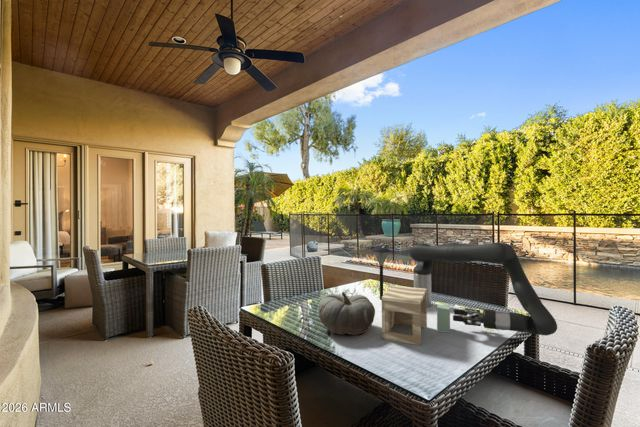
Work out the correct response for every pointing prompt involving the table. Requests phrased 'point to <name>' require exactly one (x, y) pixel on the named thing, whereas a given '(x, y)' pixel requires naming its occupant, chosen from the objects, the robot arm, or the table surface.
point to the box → (404, 313)
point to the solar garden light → (381, 263)
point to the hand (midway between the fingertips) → (453, 314)
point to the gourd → (346, 313)
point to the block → (443, 318)
